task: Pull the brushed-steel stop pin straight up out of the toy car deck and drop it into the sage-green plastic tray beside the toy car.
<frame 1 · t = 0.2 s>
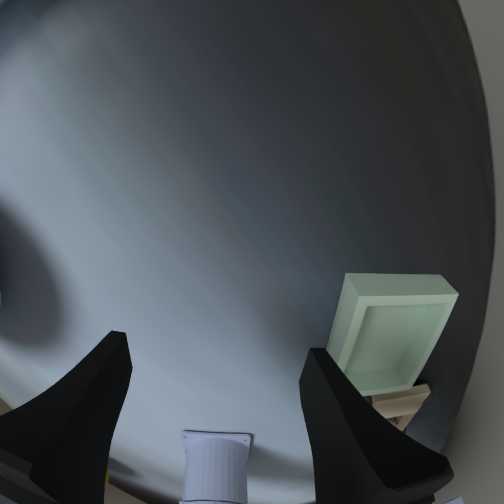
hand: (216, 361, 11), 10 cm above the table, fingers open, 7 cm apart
toy car: (379, 409, 30), on the table
tray: (379, 329, 24), on the table
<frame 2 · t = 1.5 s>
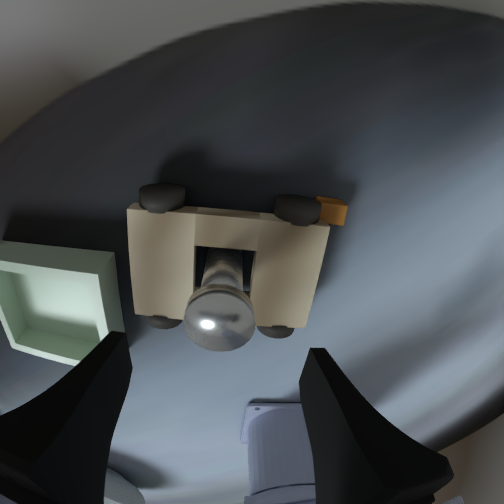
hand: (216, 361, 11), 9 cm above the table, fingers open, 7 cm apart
cereal bowl: (103, 471, 37), on the table
stop pin: (222, 284, 16), in the toy car
toy car: (224, 255, 20), on the table
tray: (60, 296, 21), on the table
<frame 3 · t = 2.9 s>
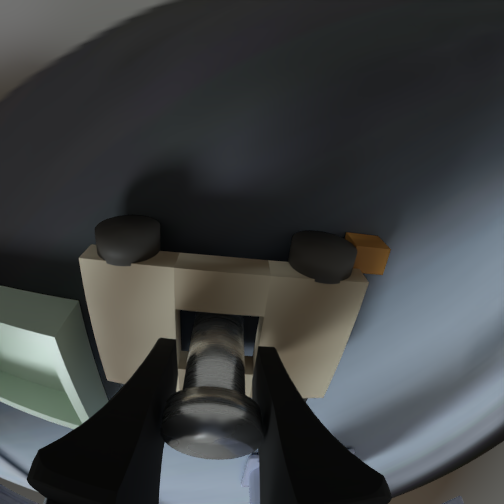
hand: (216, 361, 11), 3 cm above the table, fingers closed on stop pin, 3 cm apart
stop pin: (215, 362, 11), in the toy car, touching gripper
toy car: (220, 309, 14), on the table
tray: (26, 343, 15), on the table
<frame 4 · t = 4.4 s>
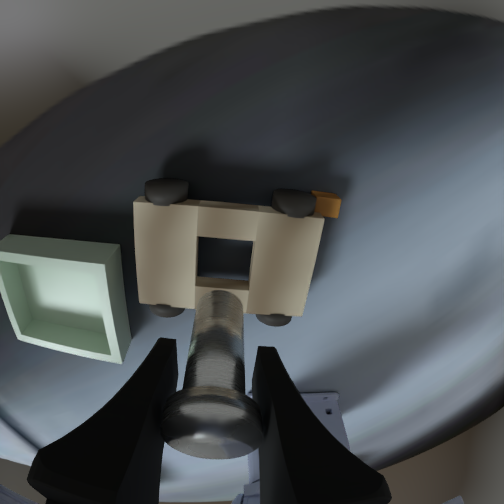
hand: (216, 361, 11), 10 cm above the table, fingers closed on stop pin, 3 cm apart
stop pin: (215, 362, 11), point 10 cm above the table, touching gripper
toy car: (225, 246, 21), on the table
tray: (66, 288, 22), on the table
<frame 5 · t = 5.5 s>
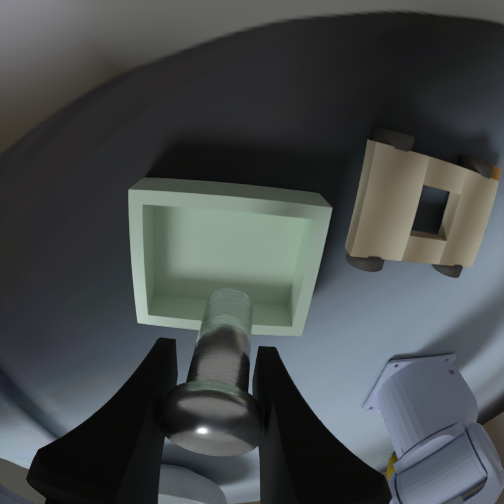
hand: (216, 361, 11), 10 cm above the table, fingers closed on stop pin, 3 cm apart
cereal bowl: (173, 472, 37), on the table
stop pin: (221, 359, 11), point 10 cm above the table, touching gripper
toy car: (417, 202, 19), on the table
apple: (398, 451, 38), on the table
tray: (225, 249, 20), on the table
when the fingers open (5 cm above the table, at t = 6.4 s): stop pin drops 1 cm, resting on tray.
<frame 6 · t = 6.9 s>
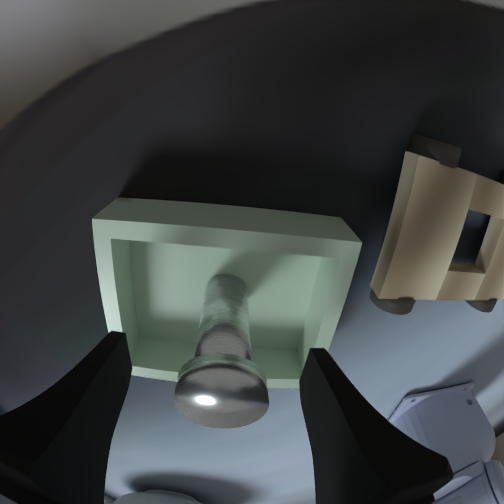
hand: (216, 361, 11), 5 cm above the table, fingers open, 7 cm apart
cereal bowl: (170, 496, 33), on the table
stop pin: (223, 338, 12), in the tray, point 4 cm above the table
toy car: (453, 226, 15), on the table
tray: (221, 287, 16), on the table
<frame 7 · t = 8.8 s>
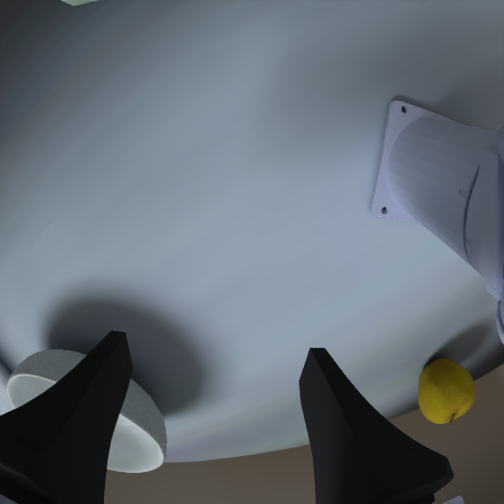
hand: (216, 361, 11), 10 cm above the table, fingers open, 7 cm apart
cereal bowl: (99, 382, 28), on the table
apple: (431, 366, 28), on the table
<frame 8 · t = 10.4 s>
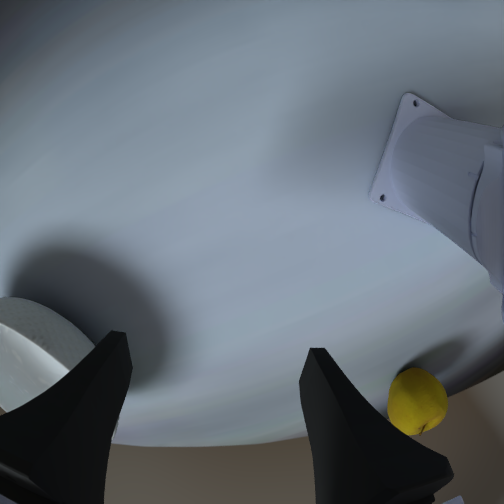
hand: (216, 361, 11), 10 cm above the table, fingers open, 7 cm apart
cereal bowl: (57, 344, 25), on the table
apple: (403, 375, 28), on the table
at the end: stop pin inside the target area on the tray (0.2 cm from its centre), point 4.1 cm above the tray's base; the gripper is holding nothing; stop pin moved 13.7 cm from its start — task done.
